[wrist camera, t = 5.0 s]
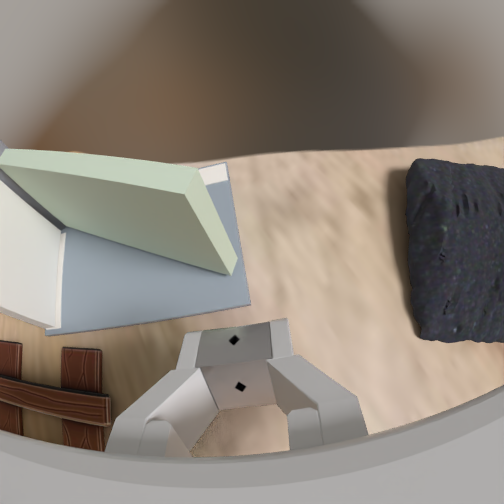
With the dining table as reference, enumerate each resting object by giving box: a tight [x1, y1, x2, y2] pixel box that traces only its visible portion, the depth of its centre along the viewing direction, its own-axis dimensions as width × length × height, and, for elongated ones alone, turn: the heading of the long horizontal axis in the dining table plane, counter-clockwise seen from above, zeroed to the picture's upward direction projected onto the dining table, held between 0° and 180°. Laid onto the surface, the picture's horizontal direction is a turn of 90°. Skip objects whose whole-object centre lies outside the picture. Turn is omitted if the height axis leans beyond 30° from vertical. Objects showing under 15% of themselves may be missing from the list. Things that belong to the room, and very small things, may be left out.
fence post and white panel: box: [0, 140, 66, 328], centre depth 17 cm, size 11×2×12 cm, turn 10°
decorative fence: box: [0, 340, 111, 452], centre depth 17 cm, size 23×2×15 cm
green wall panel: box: [0, 149, 238, 276], centre depth 17 cm, size 15×1×9 cm, turn 72°
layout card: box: [45, 162, 251, 336], centre depth 22 cm, size 11×16×1 cm
